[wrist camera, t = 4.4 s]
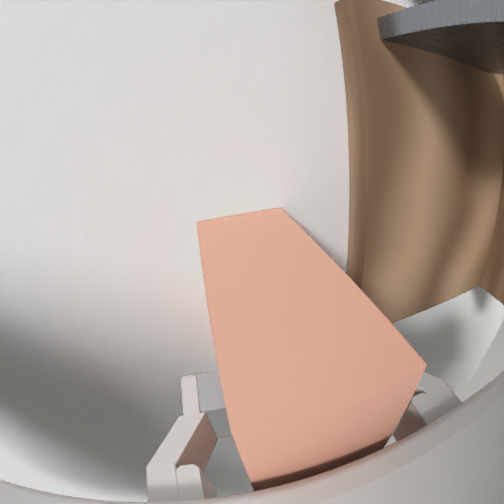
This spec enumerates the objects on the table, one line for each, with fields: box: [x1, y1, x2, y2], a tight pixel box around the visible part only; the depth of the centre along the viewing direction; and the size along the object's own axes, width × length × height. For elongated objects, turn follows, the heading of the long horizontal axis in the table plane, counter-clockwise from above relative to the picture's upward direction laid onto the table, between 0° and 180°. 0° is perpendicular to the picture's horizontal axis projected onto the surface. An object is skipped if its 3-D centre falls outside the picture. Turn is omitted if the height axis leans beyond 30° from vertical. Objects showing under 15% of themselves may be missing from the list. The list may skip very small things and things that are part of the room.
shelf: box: [334, 0, 504, 323], centre depth 10 cm, size 12×16×6 cm
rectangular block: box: [197, 207, 427, 491], centre depth 10 cm, size 4×8×9 cm, turn 6°
